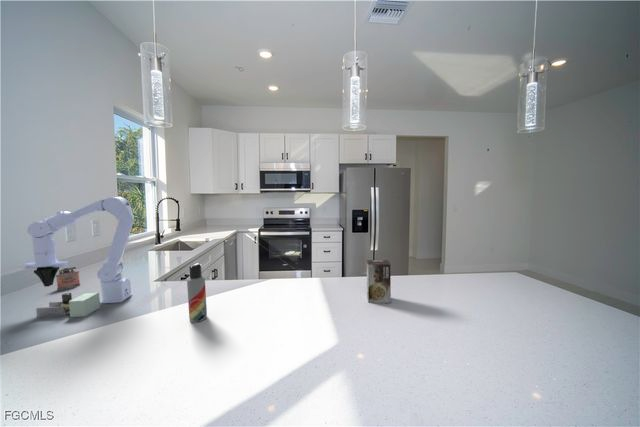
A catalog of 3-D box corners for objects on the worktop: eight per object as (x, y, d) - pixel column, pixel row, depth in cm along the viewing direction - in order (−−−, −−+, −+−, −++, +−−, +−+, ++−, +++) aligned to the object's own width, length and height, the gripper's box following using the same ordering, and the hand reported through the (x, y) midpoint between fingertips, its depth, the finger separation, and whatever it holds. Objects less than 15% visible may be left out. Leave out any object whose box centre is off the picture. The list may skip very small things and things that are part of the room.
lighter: (57, 290, 118) (55, 270, 117) (56, 289, 120) (54, 268, 120) (81, 285, 125) (79, 265, 124) (79, 284, 127) (77, 264, 126)
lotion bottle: (200, 323, 87) (196, 267, 85) (185, 322, 88) (182, 266, 86) (210, 315, 93) (207, 262, 91) (196, 314, 94) (193, 261, 92)
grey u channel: (76, 309, 99) (75, 300, 99) (64, 316, 94) (63, 307, 93) (51, 310, 98) (50, 302, 98) (37, 317, 93) (36, 308, 92)
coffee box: (388, 296, 107) (388, 259, 106) (390, 303, 101) (391, 264, 99) (366, 296, 108) (366, 259, 106) (367, 302, 101) (367, 263, 100)
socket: (100, 307, 101) (99, 292, 100) (85, 316, 93) (83, 300, 93) (86, 307, 100) (85, 293, 100) (70, 317, 93) (68, 301, 92)
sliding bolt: (93, 307, 98) (91, 291, 98) (86, 310, 95) (85, 294, 95) (68, 308, 98) (66, 292, 97) (60, 312, 94) (58, 296, 94)
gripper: (74, 248, 103) (77, 281, 104) (34, 250, 101) (38, 282, 103) (58, 252, 96) (61, 287, 97) (15, 254, 94) (19, 289, 96)
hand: (48, 285), depth 99 cm, fingers closed
